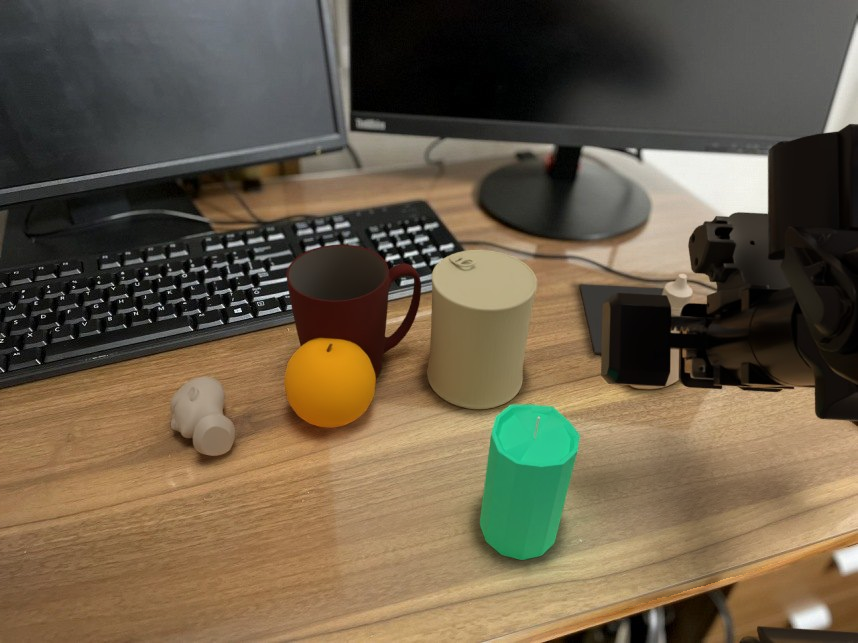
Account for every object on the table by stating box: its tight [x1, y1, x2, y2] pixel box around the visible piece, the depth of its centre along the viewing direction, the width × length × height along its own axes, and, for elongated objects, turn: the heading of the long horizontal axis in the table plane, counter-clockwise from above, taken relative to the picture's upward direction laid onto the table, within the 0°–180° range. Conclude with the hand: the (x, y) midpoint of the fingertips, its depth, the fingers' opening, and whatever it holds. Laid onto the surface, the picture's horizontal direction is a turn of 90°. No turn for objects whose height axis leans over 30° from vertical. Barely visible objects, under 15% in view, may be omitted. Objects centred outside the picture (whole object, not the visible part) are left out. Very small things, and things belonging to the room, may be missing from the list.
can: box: [426, 249, 538, 410], centre depth 61 cm, size 9×9×12 cm
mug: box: [286, 244, 422, 379], centre depth 62 cm, size 12×9×11 cm
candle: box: [479, 403, 581, 561], centre depth 48 cm, size 6×6×12 cm
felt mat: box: [579, 283, 664, 356], centre depth 72 cm, size 12×10×1 cm
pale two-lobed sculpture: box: [169, 376, 236, 457], centre depth 57 cm, size 4×8×5 cm
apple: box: [283, 338, 377, 428], centre depth 58 cm, size 8×8×8 cm
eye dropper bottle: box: [630, 273, 694, 390], centre depth 62 cm, size 4×6×12 cm
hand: (695, 353), depth 54 cm, fingers closed
